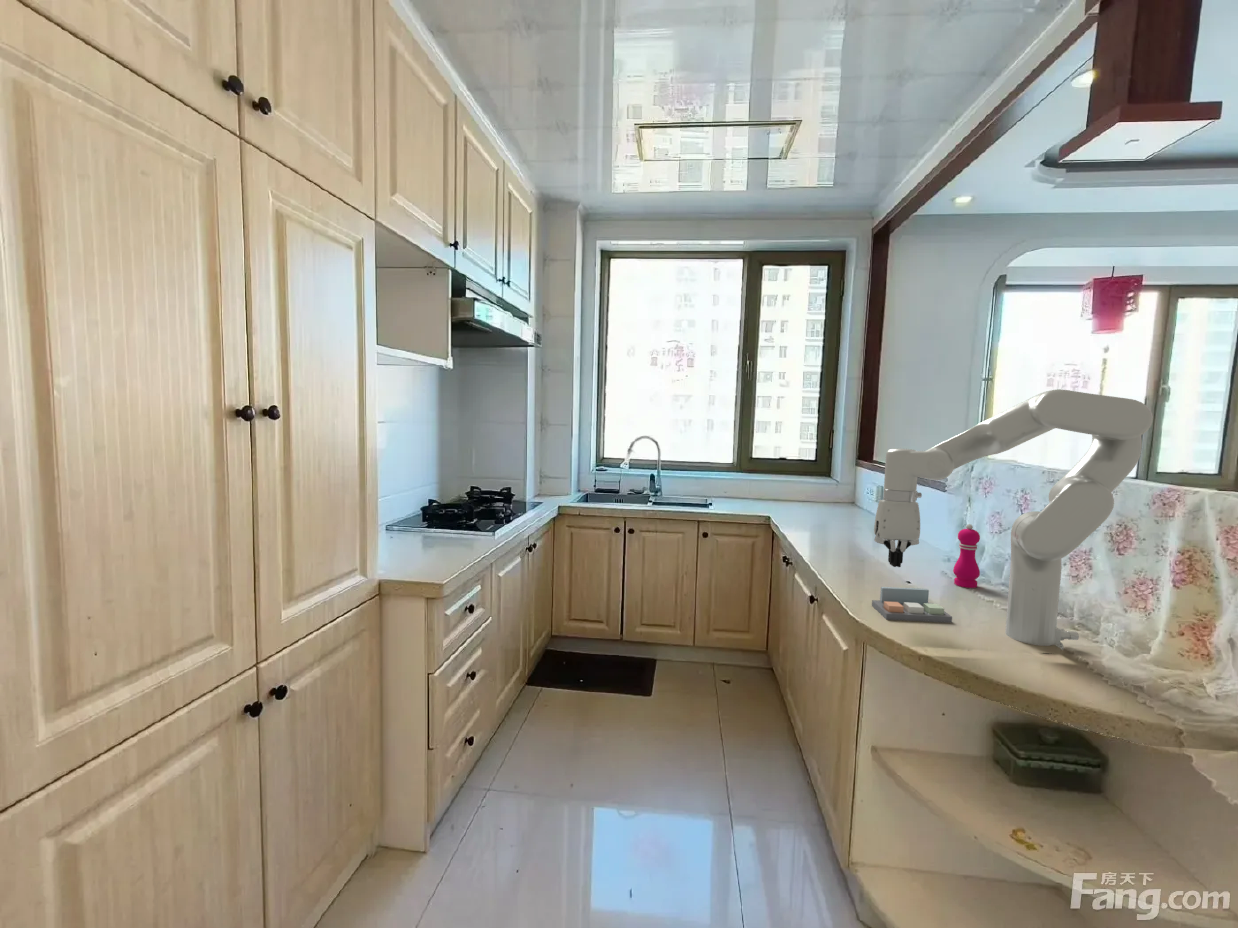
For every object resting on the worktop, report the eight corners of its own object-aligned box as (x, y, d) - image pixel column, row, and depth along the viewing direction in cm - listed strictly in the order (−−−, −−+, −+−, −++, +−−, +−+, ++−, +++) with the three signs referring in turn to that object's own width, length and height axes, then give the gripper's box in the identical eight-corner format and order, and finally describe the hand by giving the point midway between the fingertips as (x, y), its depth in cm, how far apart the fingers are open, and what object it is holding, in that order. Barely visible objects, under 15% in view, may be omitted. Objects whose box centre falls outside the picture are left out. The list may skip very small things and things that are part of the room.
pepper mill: (983, 589, 171) (987, 526, 169) (957, 587, 172) (961, 525, 171) (973, 582, 178) (977, 522, 176) (948, 581, 179) (952, 521, 178)
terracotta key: (897, 612, 145) (898, 601, 144) (903, 617, 141) (903, 606, 141) (883, 612, 145) (883, 601, 145) (888, 617, 142) (889, 605, 141)
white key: (917, 613, 144) (917, 602, 144) (923, 618, 141) (923, 607, 140) (902, 613, 145) (903, 602, 144) (908, 618, 141) (909, 606, 141)
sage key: (937, 614, 144) (937, 603, 143) (943, 619, 140) (944, 608, 140) (922, 614, 144) (923, 603, 144) (928, 619, 140) (929, 607, 140)
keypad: (932, 613, 149) (933, 588, 148) (951, 628, 138) (953, 601, 138) (871, 610, 150) (872, 586, 150) (885, 624, 140) (887, 598, 139)
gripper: (923, 495, 143) (918, 563, 145) (864, 493, 145) (860, 560, 147) (936, 499, 136) (931, 571, 138) (874, 497, 138) (870, 568, 139)
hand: (895, 565), depth 142 cm, fingers closed
